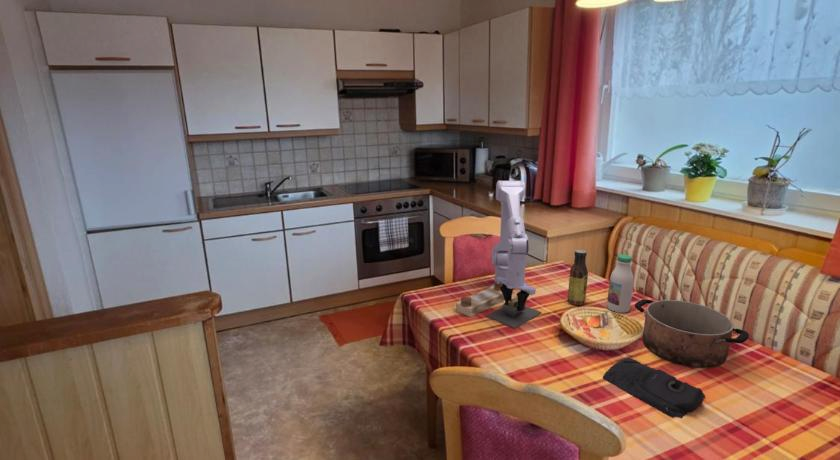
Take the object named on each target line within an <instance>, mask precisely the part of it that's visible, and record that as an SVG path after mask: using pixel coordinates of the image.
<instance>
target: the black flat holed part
mask: <svg viewBox="0 0 840 460" xmlns="http://www.w3.org/2000/svg"><path fill="white" fill-rule="evenodd" d="M602 379H603V380H605V381H606V382H607V383H609V384H612V385H613V386H615V387H616V388H618V389H620V390H621V391H623V392H625V393H626V394H629V395H630V396H632V397H633V398H636V399H638V400H639V401H641V402H643V403H644V404H646V405H648V406H650V407H652V408H653V409H656V410H657V411H659V412H661V413H662V414H664V415H666V416H668V417H670V418H675V417H676V418H680V419H683V418H684V416H686V415H687V414H688V413H693V412H695V411H696V410H697V409H698V408H699V407H700V406H701V405H702V403H703V401H704V398H706V395H705V393H704V392H703V391H702V389H701V388H700V387H696V386H693V385H691V384H689V383H688V382H686V381H685V382H683V381H681V380H678V379H677V377H675V376H673V375H671V374H669V373H667V372H666V371H663V370H661V369H656V368H655V369H654V368H652V367H651V366H648V365H646V364H644V363H642V362H640V361H639V360H636V359H634V358H632V357H625V358H623V359H620V360H619V361H618V362H615V363H614V364H612V365H611V367H609V368H608V369H607V371H605V372H604V373H603V376H602Z"/></svg>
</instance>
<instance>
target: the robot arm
mask: <svg viewBox="0 0 840 460" xmlns="http://www.w3.org/2000/svg"><path fill="white" fill-rule="evenodd" d="M495 186H496V187H495V199H496V201H499V202H500V205H501V206H500V207H501V208H500V212H501V214H500V231H499V232H500V235H499V236H500V238H499V239H500V240H499V242H497V243H496V244H494V245H493V246H492V251H491V263H492V266H493V267H495V268H494V282H496V281H497V283H498V284H502V287H500V290H501V292H502V294H503V296H504V299H505V300H504V303H506V302H508V301H509V300H511V299H513V292H514V289H515V290H519V292H517V293H516V297H517V298H518V311H521V310H523V308H524V305H525V302H526V301H527V300H528V298H529V296H534V295H535V294H536V287H533V286H531V285H529V284H528V283H526V282H525V277H526V261H527V255H528V254H529V249H530V242H529V238H528V234H527V233H526V227H525V220H524V219H523V218H522V217H521V208H520V207H521V205H520V204H521V203H520V201H522V200H523V198H524V196H525V194H526V193H525V192H526V183H525V181H524V180H497V182H496V184H495ZM492 286H494V283H492V284H491V285H490V286H489V288H490V287H492Z"/></svg>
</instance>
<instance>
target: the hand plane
mask: <svg viewBox="0 0 840 460" xmlns="http://www.w3.org/2000/svg"><path fill="white" fill-rule="evenodd" d="M493 284H494V286H492V287H490V286H489V287H488V288H486V289H484V290H481V291H479V292H476V293H475V294H473V295H470V296H467V295H466V296H462V297H460V300H459V301H457V302H455V311H456V312H458V313H461V314H462V315H465V316H467V317H470V318H473V317H474V316H475V315H478V314H480V313H482V312H484V311H486V310H488V309H490V308H492V307H494V306H496V305H498V304H500V303H501V302H505V299H504V296H503V294H502V292H501V290H500V287H502V284H498V283H497V281H496V282H495V281H494V282H493Z"/></svg>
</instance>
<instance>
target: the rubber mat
mask: <svg viewBox="0 0 840 460" xmlns="http://www.w3.org/2000/svg"><path fill="white" fill-rule="evenodd" d="M541 314H542V311H539V310H537V309H535V308H531V307H529V306H525V310H524V311H522V312H520V313H518V314H516V315H515V316H512V315H510V314H507V313H505V312H503V306H502V307H500V308H498V309H495V310H494V311H492V312H490V313H488V314H486V315H485V318H488V319H491V320H493V321H495V322H498V323H500V324H502V325H505V326H507V327H510V328H512V329H514V330H515V329H517V328H519V327H520V326H522V325H524V324H525V323H528V322H529V321H531V320H533V319H534V318H537V317H538V316H540V315H541Z"/></svg>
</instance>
